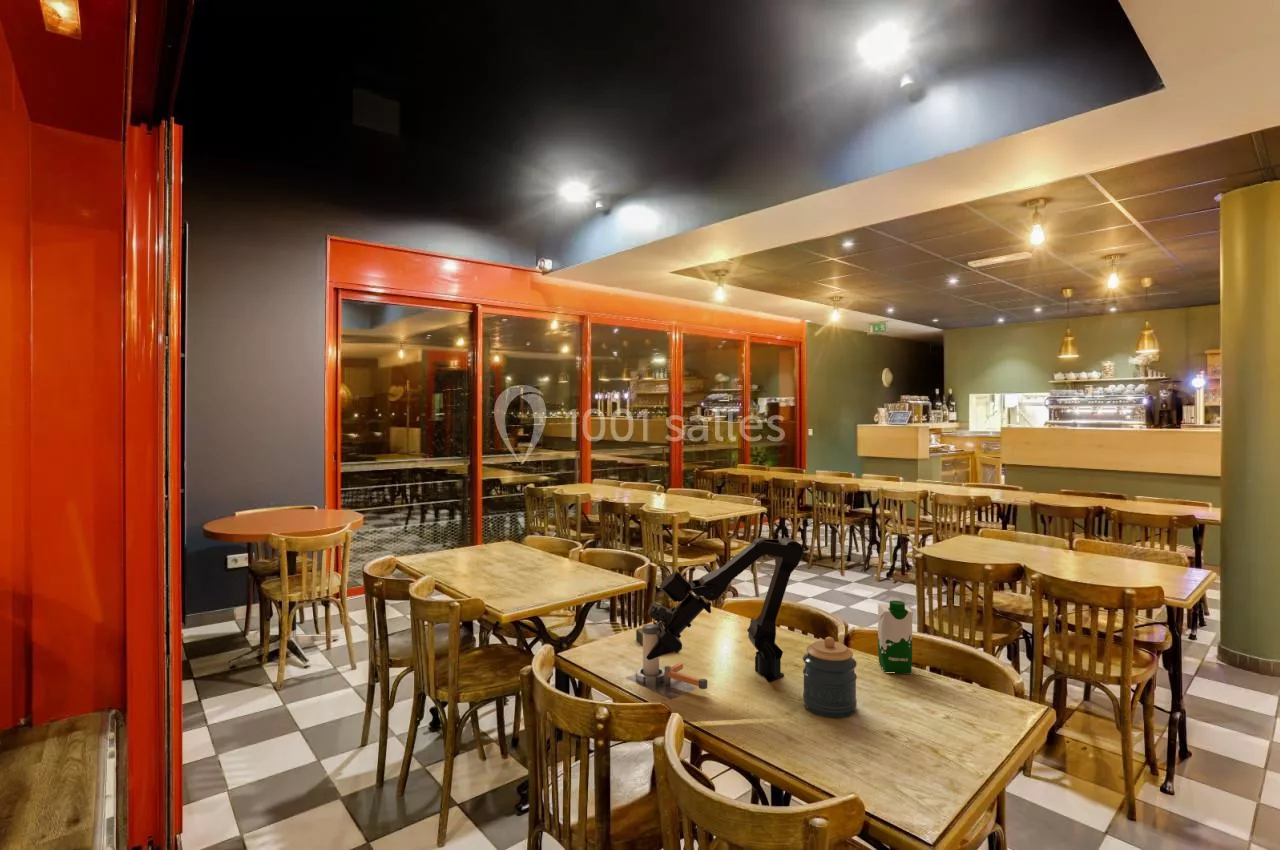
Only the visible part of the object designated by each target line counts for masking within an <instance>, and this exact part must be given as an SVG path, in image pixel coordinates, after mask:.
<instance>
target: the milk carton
mask: <svg viewBox="0 0 1280 850" xmlns="http://www.w3.org/2000/svg"><path fill="white" fill-rule="evenodd" d="M913 613H914V612H913V611H912V610H911V609H910V608H909V606H906V604H905V602H904V601H901V600H890V601H889V603H877V619H878V620H877V651H878V664H879V663H880V664H879V666H880V665H881V666H882V667H883V669H884V670H885V671H884V670H883V669H882V670H883V671H884V673H885V672H895V673H911V674H912V670H913V669H912V666H913V665H912V664H913ZM881 666H880V667H881ZM882 667H881V668H882Z"/></svg>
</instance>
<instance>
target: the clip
mask: <svg viewBox="0 0 1280 850" xmlns="http://www.w3.org/2000/svg"><path fill="white" fill-rule="evenodd" d="M664 669H665V684H667V685H669V684H670V678H673V679H676V680H679V681H683V682H686V683H688V684H690V685H692V686H695V687H698V688H699V690H706V689H708V679H706V678H697V677H693V676H690V675H686V674H683V673H680V672H679V671H681V670H682V669H684V663H682V662H678V663H676V664H674V665H672V666H669V665H665V666H664Z"/></svg>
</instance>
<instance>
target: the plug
mask: <svg viewBox="0 0 1280 850" xmlns="http://www.w3.org/2000/svg"><path fill="white" fill-rule="evenodd" d="M641 628H642V632H643V646H642V667H643V675H645V676H657V675H659V666H660V656H659V657H656V658H654V659H651V660H648V659H647V658H646V657H647V655H648V654H649V652H650V651H651V649H652V648H653V647H654V645H655V644H656V643H657V635H658V634H659V632H660V627H659V626H658V625H655V624H653V623H651V624H650V623H649V624H644V625H642V627H641Z"/></svg>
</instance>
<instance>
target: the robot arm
mask: <svg viewBox="0 0 1280 850" xmlns="http://www.w3.org/2000/svg"><path fill="white" fill-rule="evenodd" d="M764 555H766V556H771V557H774V563H775V565H774V569H773V573H772V576H771V579H770V582H769V585H768V589H767V593H766V595H765V599H764V601H763V605H762V608H761V611H760V614H759V615H758V616H757V617H756V618H754V617H751V619H750V625H749V627H748V628H747V630H746V632H747V633H748V634H747V636H748V639H749V641H750V643H751V644H752V645H753V647H754V648H755V649H756V650H757V651H755V657H754V671H755V672H757V673H758V675H759V676H761V677H764V679H765V680H766V681H767V682H774V681H775V680H777V679H779V678H782V677H784V676H785V673H783V672H781V668H782V666H781V665H782V663H781V659H782V656H783V654H784V651H783V650H782V649H781V647H779V646H778V644H777V643H776V635H777V626H776V625H777V624H776V622H777V618H778V615H779V611H780V608H781V606H782V603H783V599H784V596H785V592H786V590H787V587H788V583H789V581H790V578H791V574H792V573H793V572H794V570H795V569H796V568H797V567H798V566H799V564H800V562H801V561H802V560H801V559H802V558H803V557H804V548H803V546H802V545H801V544H800V543H799V542H797V541H796V540H794V539H792V538H791V537H782V538H781V539H775V538H761V537H758V538H757V537H756V538H755V539H753V541H752V542H751V543H750V544H749V545H748V546H746V547H744V549H743V550H742V551H739V553H737V555H735V556H733V558H731V559H730V560H728V561H727V563H725V564H723V566H722V567H719V568H717V569H715V570H712V571H709V572H708V573H706V574H704V575H703V576H701V577H700V578H698V579H693V580H687V579H686V578H685V577H683V576H682V574H681V573H680V572H679V570H675V571H674V572H673V573H671V574H669V575H668V576H666V577H665V578H664V579H663V580H662V581H661V583H660V584H659V589H660V590H661V591H662V592H664V594H665V595H666V596H668V597H669V599H670V600H671V601H673V602H674V603H677V602H678V603H679V604H678V605H677V606H675V605H674V606H671V607H670V608H668V607H666V606H664V605H661V604H659V603H657V602H655V601H652V602H651V604H650V605H649V608H648V611H647V614H648V616H649V617H650V618H651V619H653V620H652V624H655V625H658V626H659V627H660V632H659V634H658V635H657V643H656V644H655V645H654V647H653V648H652V649H651V651H650V652H649V654H648V655H647V657H646V658H647V659H648V660H651V659H654V658H656V657H659V658H660V657H661V656H664V655H668V654H671V653H674V654H679V652H681V651H682V650H683V643H682V641H681V639H680V638H681V637H682V635H681V633H682V632H684V630H685V629H686V628H691V627H692V622H693V621H694V620H695V619H696V618H697V617H698V616H699V615H700V613H701V612H702V611H704V610H705V611H706V612H707V613H708V614H711V613H712V608H711V607H712V603H711V601H713V602H714V601H716V600H718V599H719V598H720V597H721V596H722V595H723V594H724V592H725V591H726V590H727V589H728V587H729V585H730V583H731V582H732V581H733V580H734V579H735V578H737V577H738V576H739V575H740V574H741V573H743V571H745V570H747V569H748V568H749V567H750V566H751V565H753V564H754V563H755V562H756V561H757V560H759V559H760V558H761V557H762V556H764ZM705 599H706V600H705Z"/></svg>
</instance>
